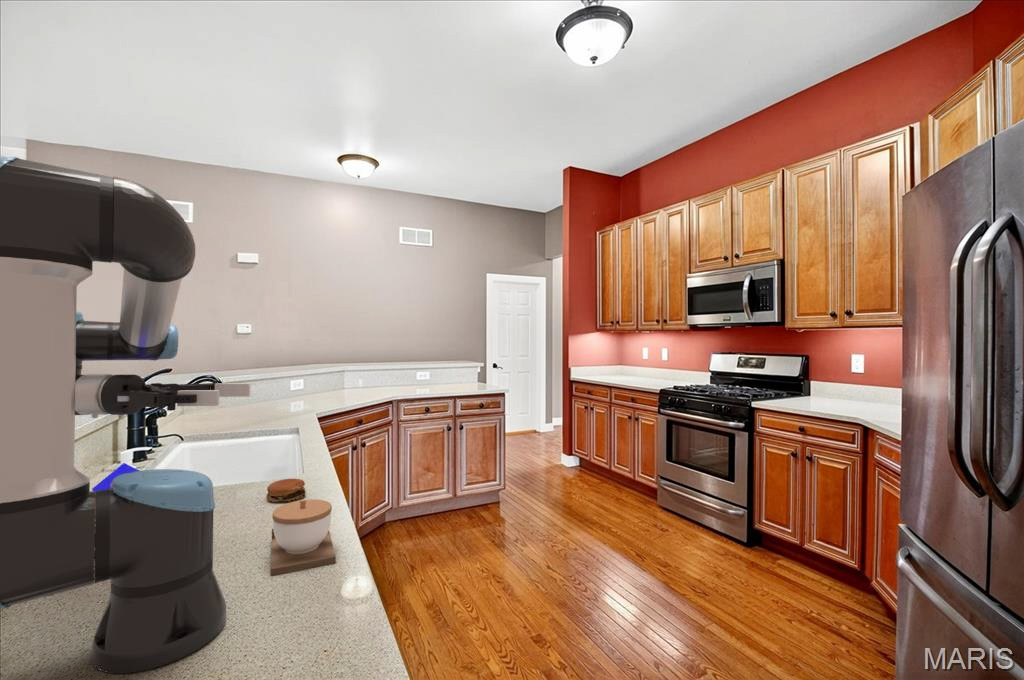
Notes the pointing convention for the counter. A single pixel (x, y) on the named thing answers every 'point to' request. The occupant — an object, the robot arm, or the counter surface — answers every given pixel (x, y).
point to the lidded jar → (301, 525)
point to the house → (108, 480)
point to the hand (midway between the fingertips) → (235, 393)
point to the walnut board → (300, 557)
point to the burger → (286, 490)
